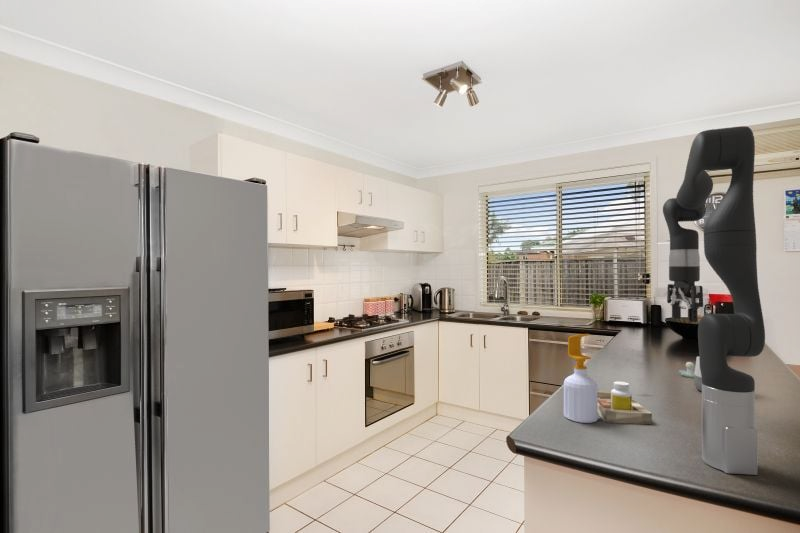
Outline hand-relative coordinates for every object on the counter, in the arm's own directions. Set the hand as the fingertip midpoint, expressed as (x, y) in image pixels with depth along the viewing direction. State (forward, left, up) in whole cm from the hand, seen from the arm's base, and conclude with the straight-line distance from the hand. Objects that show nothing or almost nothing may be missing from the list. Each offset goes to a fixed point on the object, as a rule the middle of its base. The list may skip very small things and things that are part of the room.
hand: (684, 320), depth 123 cm
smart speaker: (+26, -22, -28) cm, 44 cm away
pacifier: (+48, -27, -28) cm, 62 cm away
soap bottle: (-6, +31, -28) cm, 42 cm away
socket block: (+2, +19, -28) cm, 34 cm away
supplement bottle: (-3, +19, -28) cm, 34 cm away
